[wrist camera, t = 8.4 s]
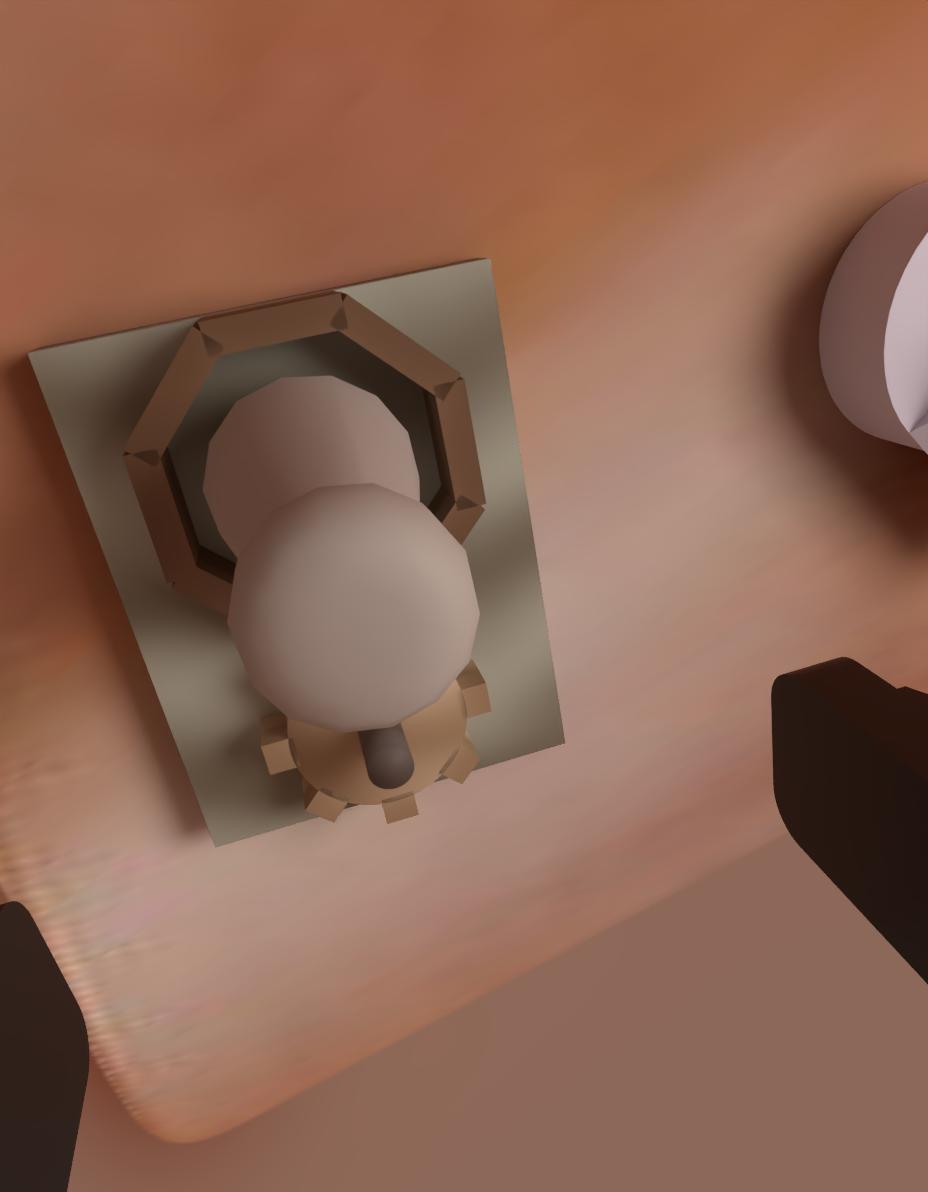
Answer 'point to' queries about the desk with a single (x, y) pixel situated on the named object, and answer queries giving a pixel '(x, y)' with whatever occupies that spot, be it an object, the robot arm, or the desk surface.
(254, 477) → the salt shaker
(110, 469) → the peg board
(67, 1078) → the robot arm
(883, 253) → the wedge on round base
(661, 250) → the desk surface
